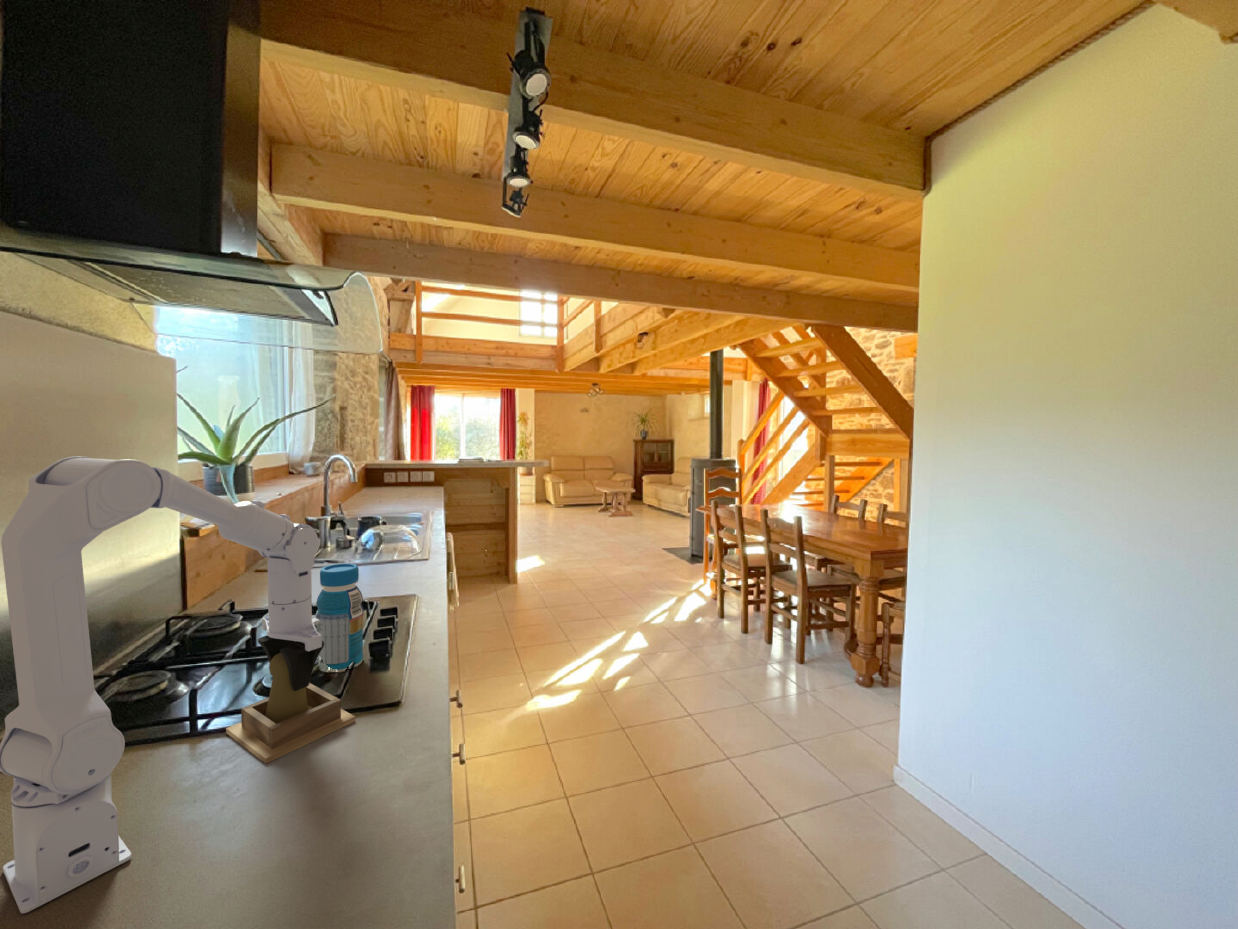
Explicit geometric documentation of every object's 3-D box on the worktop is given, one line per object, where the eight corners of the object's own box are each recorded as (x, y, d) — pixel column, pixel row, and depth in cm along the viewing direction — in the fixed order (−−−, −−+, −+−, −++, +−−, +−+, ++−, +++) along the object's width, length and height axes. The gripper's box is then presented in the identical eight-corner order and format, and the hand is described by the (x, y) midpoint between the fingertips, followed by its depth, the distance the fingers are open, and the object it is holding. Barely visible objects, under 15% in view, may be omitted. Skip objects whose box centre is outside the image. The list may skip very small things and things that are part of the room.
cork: (317, 713, 83) (320, 647, 82) (289, 734, 77) (292, 663, 76) (284, 708, 84) (287, 643, 83) (253, 729, 78) (256, 658, 77)
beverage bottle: (320, 679, 96) (319, 575, 95) (312, 663, 103) (311, 565, 102) (368, 667, 102) (367, 568, 101) (358, 652, 108) (357, 559, 107)
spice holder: (355, 721, 83) (354, 698, 83) (265, 764, 72) (265, 738, 72) (313, 697, 90) (313, 676, 90) (226, 733, 79) (225, 709, 79)
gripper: (341, 601, 79) (342, 685, 80) (294, 584, 87) (295, 661, 88) (292, 614, 73) (293, 705, 74) (246, 594, 81) (248, 677, 82)
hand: (291, 682), depth 80 cm, fingers closed on cork, 5 cm apart
